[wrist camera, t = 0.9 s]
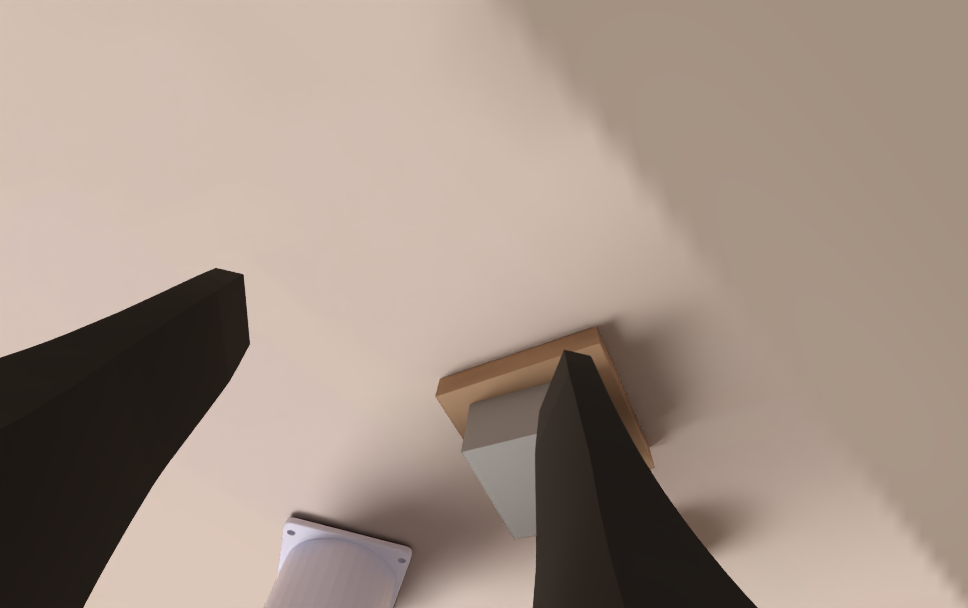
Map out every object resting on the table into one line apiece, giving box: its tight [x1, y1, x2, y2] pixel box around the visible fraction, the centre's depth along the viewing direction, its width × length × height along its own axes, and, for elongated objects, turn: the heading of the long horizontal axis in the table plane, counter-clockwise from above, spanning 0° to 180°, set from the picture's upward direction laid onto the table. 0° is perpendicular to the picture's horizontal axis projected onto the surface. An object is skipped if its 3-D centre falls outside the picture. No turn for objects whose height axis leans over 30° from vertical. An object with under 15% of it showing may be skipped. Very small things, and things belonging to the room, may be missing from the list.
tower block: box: [462, 382, 551, 540], centre depth 23 cm, size 6×6×3 cm
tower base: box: [435, 327, 654, 469], centre depth 25 cm, size 8×8×2 cm
